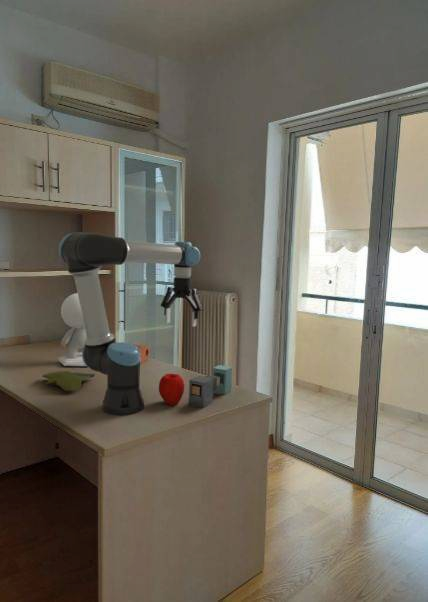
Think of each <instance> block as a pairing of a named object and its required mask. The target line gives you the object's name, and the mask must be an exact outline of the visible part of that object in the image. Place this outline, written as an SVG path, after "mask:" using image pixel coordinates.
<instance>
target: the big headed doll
mask: <svg viewBox="0 0 428 602" xmlns="http://www.w3.org/2000/svg"><path fill="white" fill-rule="evenodd" d="M60 315H61V318H62V321H64V323H65V324H66V325H67V326H69V327H71V328H70V329H69V330H68V331H67V332H66V333H65V334H64V336H63V337H62V339H61V342H60V346H61V348H65V347H66V345H68V348H67V351H66V352H67V353H66V355H63V356H60V357H59V358H58V360H57V361H58V362H59V363H60V364H61V365H63V366H64V367H87V366H86V365H85V363H84V361H83V359H82V352H79V349H82V350H83V349H84V346H85V344H84V341H85V339H86V338H87V334H86V329H85V325H84V320H83V316H82V311H81V306H80V302H79V297H78V293H77V292H76V293H73V294H70V295H69V296H67V297H65V299H64V301H63V302H62V304H61V306H60Z"/></svg>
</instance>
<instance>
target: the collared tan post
mask: <svg viewBox="0 0 428 602" xmlns="http://www.w3.org/2000/svg"><path fill="white" fill-rule="evenodd" d="M204 377H209V378H213V391H215V390H216V389H217V386H218V385H220V377H218V376H213V375H211V376H210V375H204ZM192 394H195V395H201V394H202V386H201V385H197V384H195V385H193V386H192Z"/></svg>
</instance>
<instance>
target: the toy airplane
mask: <svg viewBox="0 0 428 602" xmlns="http://www.w3.org/2000/svg"><path fill="white" fill-rule="evenodd" d="M95 375H96V374H95V373H84V372H83V373H82V372H71V371H70V370H69V371H67V370H66V371H65V370H61V371H60V370H59V371H55V372H50V373H44V374H43V375H41V377H43V378H45V379H48V381H47V382H46V384H47V385H55V386H58V387H60V388H61V389H63V390H64V391H66V392H67V391H69V392H72V391H74V390H77V389H80V388H81V386H82V382H83V381H85V380H89V379H92V378H94V377H95Z"/></svg>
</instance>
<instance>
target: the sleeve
mask: <svg viewBox="0 0 428 602" xmlns="http://www.w3.org/2000/svg"><path fill="white" fill-rule="evenodd" d="M188 381H189V382H188V383H189V384H188V385H189V386H188V387H189V390H188V405H189V406H193V407H197V408H202V409H204V408H206V407H207V406H209V405H211V404H213V402H214V401H213V400H214V399H213V397H214V396H213V395H214V393H213V378H209V377H205V375H197V376H195V377H193V378H190V379H189V380H188ZM195 384H197V385H201V386H202V394H201V395H195V394H192V386H193V385H195Z"/></svg>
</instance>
